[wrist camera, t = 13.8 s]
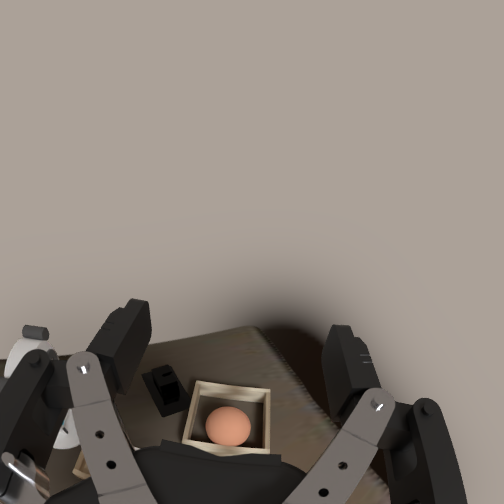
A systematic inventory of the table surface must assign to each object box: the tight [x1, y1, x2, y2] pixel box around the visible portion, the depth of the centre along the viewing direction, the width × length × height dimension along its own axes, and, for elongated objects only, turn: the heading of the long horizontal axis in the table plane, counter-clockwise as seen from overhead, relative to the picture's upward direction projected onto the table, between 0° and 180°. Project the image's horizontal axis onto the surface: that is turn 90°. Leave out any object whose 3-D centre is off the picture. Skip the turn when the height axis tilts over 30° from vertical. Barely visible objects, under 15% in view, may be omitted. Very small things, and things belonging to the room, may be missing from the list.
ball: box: [206, 407, 251, 447], centre depth 32 cm, size 6×6×6 cm
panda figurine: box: [0, 325, 80, 449], centre depth 26 cm, size 12×11×15 cm
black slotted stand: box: [142, 365, 191, 417], centre depth 39 cm, size 12×7×5 cm, turn 35°
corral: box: [182, 380, 270, 456], centre depth 35 cm, size 11×11×3 cm
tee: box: [72, 450, 91, 480], centre depth 21 cm, size 4×4×9 cm
